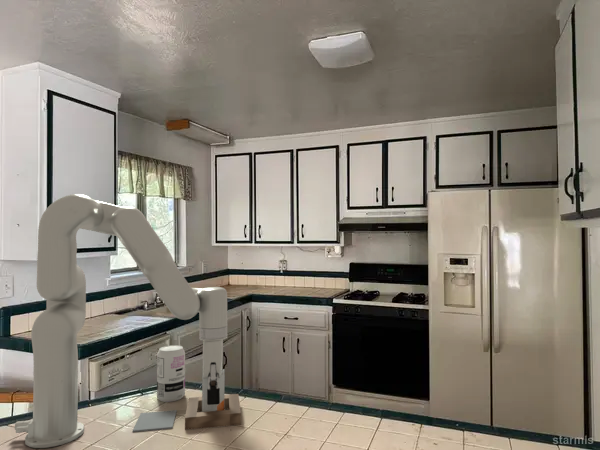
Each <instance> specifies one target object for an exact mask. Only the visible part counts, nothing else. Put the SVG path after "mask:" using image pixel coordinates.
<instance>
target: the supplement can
mask: <svg viewBox="0 0 600 450" xmlns="http://www.w3.org/2000/svg"><path fill="white" fill-rule="evenodd" d="M185 395H186V352H185V349H184V347H183V346H182V345H178V344H177V345H176V344H174V345H165V346H161V347H159V349H158V352H157V353H156V398H157V399H158V401H160V402H164V403H165V402H167V403H168V402H169V403H170V402H171V403H173V402H177V401H179V400H181V399H183V397H184V396H185Z"/></svg>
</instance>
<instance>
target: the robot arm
mask: <svg viewBox="0 0 600 450" xmlns="http://www.w3.org/2000/svg"><path fill="white" fill-rule="evenodd" d="M80 229H82V230H86V231H91V232H95V233H96V232H97V233H101V234H105V235H109V236H114V237H115V236H116V237H117V239H118V240H119V241H120V243H121V244H122V245H123V247H124V248H125V249H126V251H127V252H128V253H129V255H130V256H131V259H133V260H134V263H136V265H137V267H138V268H139V269H140V271H141V272H142V274H143V275H144V277H145V278H146V279H147V280H148V282H149V283H150V285H151V286H152V287H153V289H154V290H155V292H156V294H158V296H159V298H160V299H161V301H162V302H163V303H164V305H165V306H166V308H167V309H168V310H169V312H170V313H171V314H172V315H173V316H174V317H175V318H176V319H179V320H184V321H187V320H190V319H192V318H193V317H195V316H197V314H198V313H199V314H198V315H199V316H198V318H199V323H198V324H199V331H198V332H199V333H198V334H199V340H200V341H203V342H202V343H203V344H202V375H203V379H205V378H207V377H208V389H207V404H208V405H214V404H219V403H220V388H219V378H220V377H221V372H222V369H223V359H224V357H223V356H224V354H223V353H224V340H226V339H228V292H227V289H226V288H224V287H220V286H211V287H204V288H203V287H202V288H201V287H200V288H198V287H192V286H190V284H189V282H188V281H187V279H186V278H185V276H183V273H181V271H180V270H179V268H178V266H177V264H176V262H175V261H174V258H173V256H172V253H171V252H170V251H169V249H168V247H167V246H166V245H165V243H164V242H163V240H162V239H161V238H160V237H159V235H158V233H157V232H156V231H155V229H154V228H153V227H152V225H151V224H150V223H149V221H148V220H147V218H146V217H145V215H144V213H143V212H142V211H141V210H140V209H138V208H137V207H134V206H130V205H129V206H128V205H127V206H119V205H115V204H112V203H107V202H104V201H101V200H100V201H99V200H95V199H93V198H92V197H90V196H88V195H85V194H81V193H74V194H73V193H72V194H69V195H66V196H62V197H60V198H59V199H57V200H55V201H54V202H52V203H51V204H49V206H48V207H47V208H45V211H44V212H43V214H42V215H41V217H40V219H39V224H38V229H37V231H38V232H37V254H36V255H37V258H36V259H37V260H36V262H37V263H36V289H37V293H39V295H40V297H42V299H44V300H46V309H45V310H44V311H43V312H41V313H40V314H39V315H38V316H37V317H36V318H35V320H34V322H33V324H32V328H31V331H30V332H31V336H30V337H31V346H32V353H33V355H32V356H33V372H32V373H33V387H32V388H33V389H32V390H33V394H32V395H33V397H32V399H33V400H32V404H33V405H32V408H33V409H32V411H33V412H32V418H31V419H30V420H20V421H16V422H15V424H14V430H15V433H16V434H20V433H26V436H25V437H24V444H25V446H27V447H29V448H34V449H45V448H46V449H47V448H54V447H57V446H58V447H59V446H62V445H64V444H67V443H70V442H72V441H74V440H77V439H78V438H79V437H81V436H82V435H83V434H84V432H85V424H83V423H82V422H80V421H78V411H79V409H78V408H79V407H78V402H79V400H78V399H79V351H78V333H80V332H81V330H82V329H83V327H84V325H85V323H86V317H87V316H86V314H87V311H86V310H87V293H86V291H87V281H86V280H87V279H86V274H85V272H84V270H83V269H82V268H81V266H79V265H78V261H77V259H78V258H77V251H78V247H77V245H78V243H77V233H78V231H79V230H80ZM210 375H211V377H210ZM216 375H217V376H216ZM216 379H217V381H216ZM210 380H211V381H210ZM216 385H217V386H216Z"/></svg>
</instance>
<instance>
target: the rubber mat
mask: <svg viewBox="0 0 600 450" xmlns="http://www.w3.org/2000/svg"><path fill="white" fill-rule="evenodd" d="M177 412H178V410H177V409H174V410H164V411H163V410H161V411H160V410H159V411H151V412H140V414H139V416H138V418H137V421H136V423H135V424H134V426H133V429H132V433H136V432H138V433H139V432H148V431H158V430H172V429H174V424H175V420H176V416H177Z"/></svg>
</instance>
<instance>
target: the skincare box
mask: <svg viewBox="0 0 600 450" xmlns="http://www.w3.org/2000/svg"><path fill="white" fill-rule="evenodd" d="M225 370H226V369H223V368H222V372H221V377H220V378H219V388H220V403H219V404H214V405H208V404H207V389H208V377H207V378H205V379H203V374H202V376H201V379H202V380H201V381H202V383H201V386H202V387H201V389H202V390H201V397H202V411H201V412H208V411H220V410H225V409H224V395H225V391H226V390H225V383H226V382H225V381H226V380H225V378H226V377H225V374H226V373H225ZM216 376H217V375H216ZM210 377H211V375H210ZM210 381H211V380H210ZM216 381H217V379H216ZM216 386H217V385H216Z"/></svg>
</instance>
